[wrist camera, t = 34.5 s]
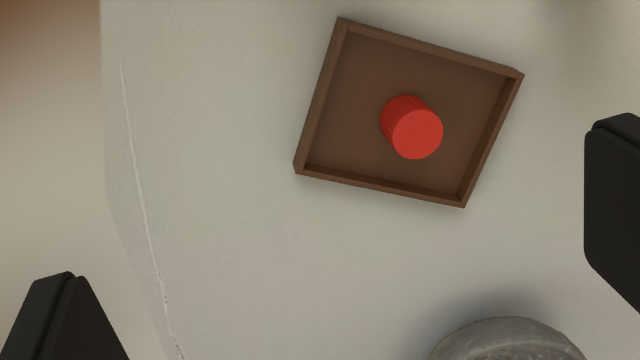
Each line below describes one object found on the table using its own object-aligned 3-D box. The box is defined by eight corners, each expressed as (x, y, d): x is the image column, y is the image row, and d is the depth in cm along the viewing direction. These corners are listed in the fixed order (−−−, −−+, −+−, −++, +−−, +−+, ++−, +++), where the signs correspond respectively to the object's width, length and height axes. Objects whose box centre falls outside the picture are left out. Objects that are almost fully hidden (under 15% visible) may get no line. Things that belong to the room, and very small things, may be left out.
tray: (292, 163, 46) (295, 173, 44) (337, 16, 41) (343, 21, 39) (455, 197, 50) (464, 208, 48) (513, 67, 45) (525, 74, 43)
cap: (383, 146, 46) (396, 166, 43) (374, 101, 44) (387, 118, 41) (430, 133, 46) (447, 151, 43) (423, 87, 44) (440, 103, 41)
